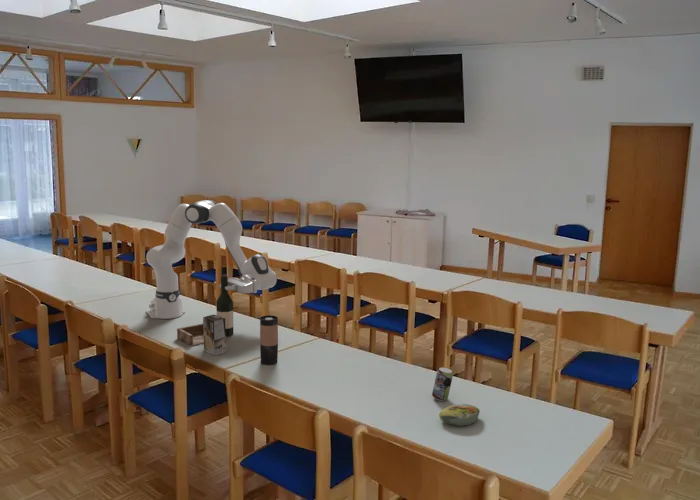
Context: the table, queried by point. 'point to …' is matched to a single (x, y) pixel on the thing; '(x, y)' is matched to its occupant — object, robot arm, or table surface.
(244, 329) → the table surface
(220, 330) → the coffee box
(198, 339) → the tray
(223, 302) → the wine bottle
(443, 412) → the cell model
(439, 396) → the beverage can
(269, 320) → the travel mug
